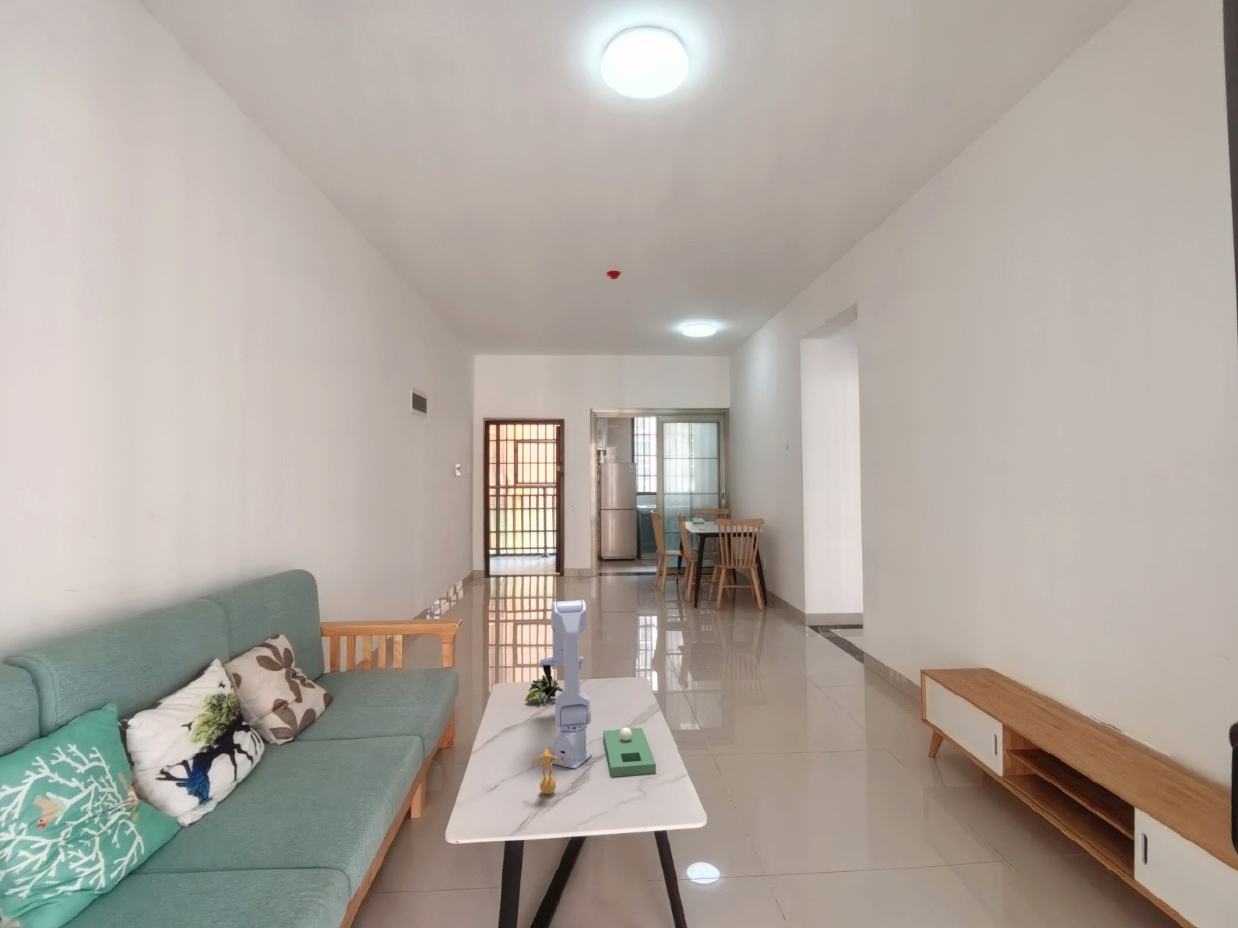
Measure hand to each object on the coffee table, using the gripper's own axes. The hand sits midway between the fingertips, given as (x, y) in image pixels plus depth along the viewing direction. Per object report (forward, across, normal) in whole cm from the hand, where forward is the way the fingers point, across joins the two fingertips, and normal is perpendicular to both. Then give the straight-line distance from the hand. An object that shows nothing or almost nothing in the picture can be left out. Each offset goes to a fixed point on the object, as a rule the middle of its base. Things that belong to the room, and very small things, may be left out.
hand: (561, 685), depth 200 cm
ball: (+1, -16, +30) cm, 34 cm away
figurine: (+2, +8, +51) cm, 52 cm away
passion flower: (+13, +5, -13) cm, 19 cm away
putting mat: (+5, -16, +34) cm, 38 cm away
